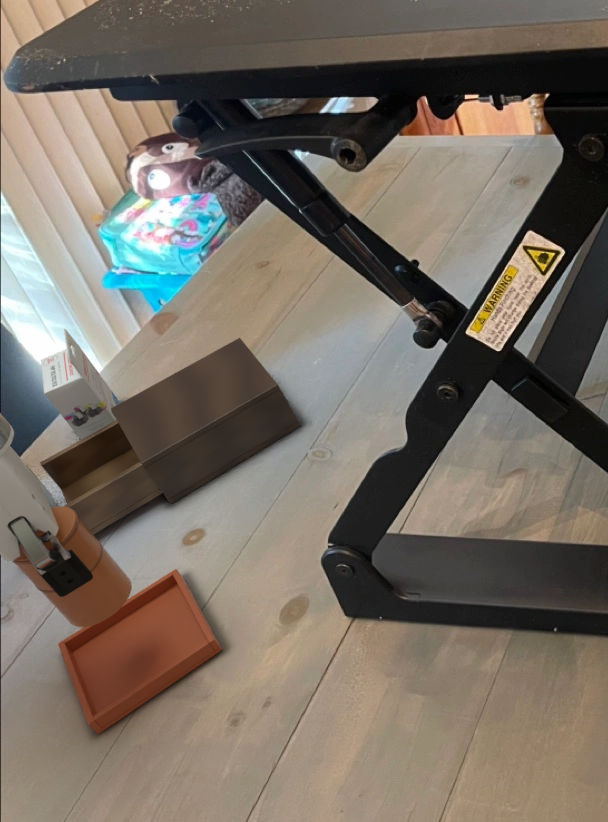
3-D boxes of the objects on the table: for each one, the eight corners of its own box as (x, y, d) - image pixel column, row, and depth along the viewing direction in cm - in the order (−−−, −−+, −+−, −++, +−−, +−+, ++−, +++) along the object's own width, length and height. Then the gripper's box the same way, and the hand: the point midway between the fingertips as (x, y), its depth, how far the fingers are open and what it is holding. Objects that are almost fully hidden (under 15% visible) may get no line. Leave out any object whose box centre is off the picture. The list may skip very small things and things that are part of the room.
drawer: (30, 578, 125) (2, 547, 121) (8, 519, 133) (-19, 489, 129) (199, 477, 134) (178, 445, 130) (169, 428, 142) (147, 397, 138)
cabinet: (171, 504, 132) (141, 463, 127) (139, 448, 141) (110, 408, 136) (301, 425, 139) (277, 384, 135) (263, 377, 149) (239, 337, 144)
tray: (98, 734, 107) (88, 724, 106) (67, 653, 116) (57, 643, 115) (222, 649, 113) (214, 639, 112) (184, 579, 122) (176, 568, 121)
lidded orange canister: (75, 640, 105) (12, 573, 98) (59, 601, 110) (-2, 534, 103) (140, 598, 108) (83, 530, 101) (123, 562, 112) (67, 494, 106)
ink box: (85, 420, 148) (26, 342, 139) (122, 403, 149) (65, 325, 140) (90, 455, 141) (29, 376, 132) (129, 437, 143) (70, 358, 134)
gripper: (-99, 419, 98) (11, 540, 109) (-71, 519, 87) (49, 643, 98) (-14, 375, 102) (85, 497, 113) (24, 466, 90) (130, 592, 101)
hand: (67, 564), depth 105 cm, fingers closed on lidded orange canister, 6 cm apart
